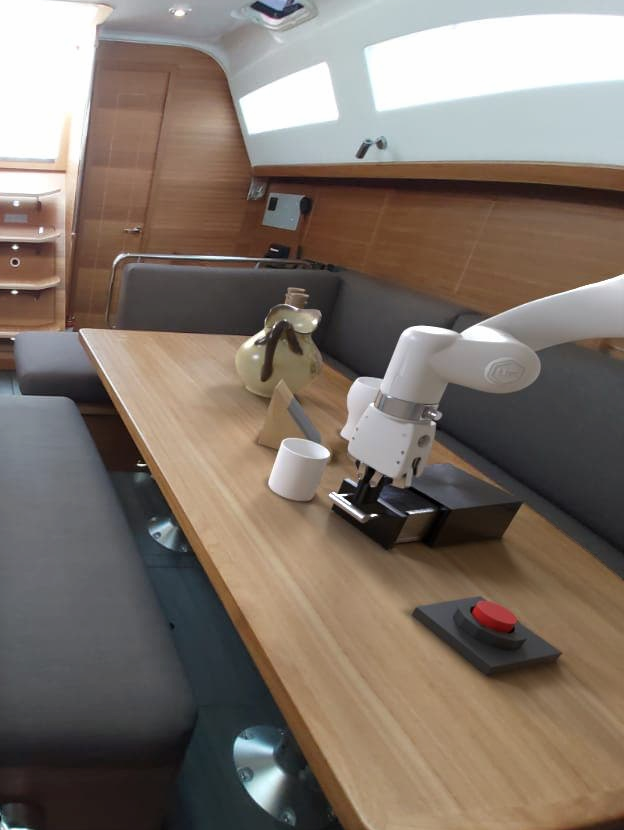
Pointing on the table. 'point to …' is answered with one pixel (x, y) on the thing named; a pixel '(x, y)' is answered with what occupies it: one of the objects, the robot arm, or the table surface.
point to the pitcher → (281, 352)
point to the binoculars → (296, 298)
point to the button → (494, 616)
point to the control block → (484, 638)
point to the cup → (359, 402)
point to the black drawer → (388, 514)
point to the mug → (298, 469)
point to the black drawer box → (464, 505)
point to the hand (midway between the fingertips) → (363, 501)
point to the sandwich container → (288, 421)
